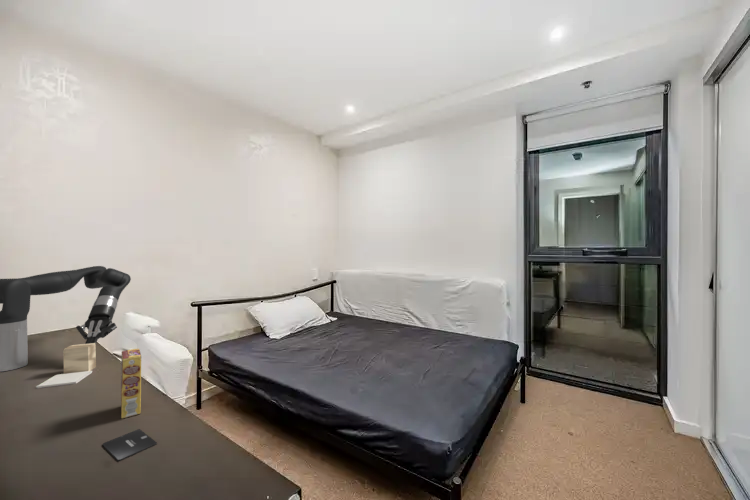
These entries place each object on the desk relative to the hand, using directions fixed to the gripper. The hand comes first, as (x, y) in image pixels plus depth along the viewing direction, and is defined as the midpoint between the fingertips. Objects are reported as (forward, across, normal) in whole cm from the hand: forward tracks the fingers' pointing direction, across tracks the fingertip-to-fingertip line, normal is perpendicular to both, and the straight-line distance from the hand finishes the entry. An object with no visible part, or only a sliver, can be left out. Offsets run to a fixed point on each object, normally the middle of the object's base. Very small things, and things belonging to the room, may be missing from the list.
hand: (89, 347), depth 118 cm
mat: (+14, +1, +5) cm, 15 cm away
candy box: (+37, -28, +28) cm, 55 cm away
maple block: (+9, 0, -1) cm, 9 cm away
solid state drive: (+50, -34, +41) cm, 73 cm away
